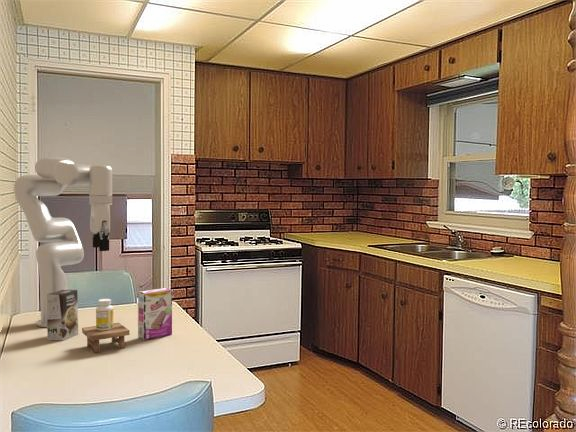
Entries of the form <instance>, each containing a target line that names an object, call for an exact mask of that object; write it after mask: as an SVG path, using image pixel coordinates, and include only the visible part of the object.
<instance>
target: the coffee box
mask: <svg viewBox="0 0 576 432" xmlns="http://www.w3.org/2000/svg"><path fill="white" fill-rule="evenodd" d="M78 297H79V296H78V289H67V290H60V291H56V292H53V293H49V294H47V327H46V328H47V333H46V334H47V340H48V341H59V342H60V341H61V342H62V341H66V340H68V339H71V338H72V337H75V336H77V335H79V308H78V307H79V306H78V305H79V301H78V299H79V298H78Z"/></svg>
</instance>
